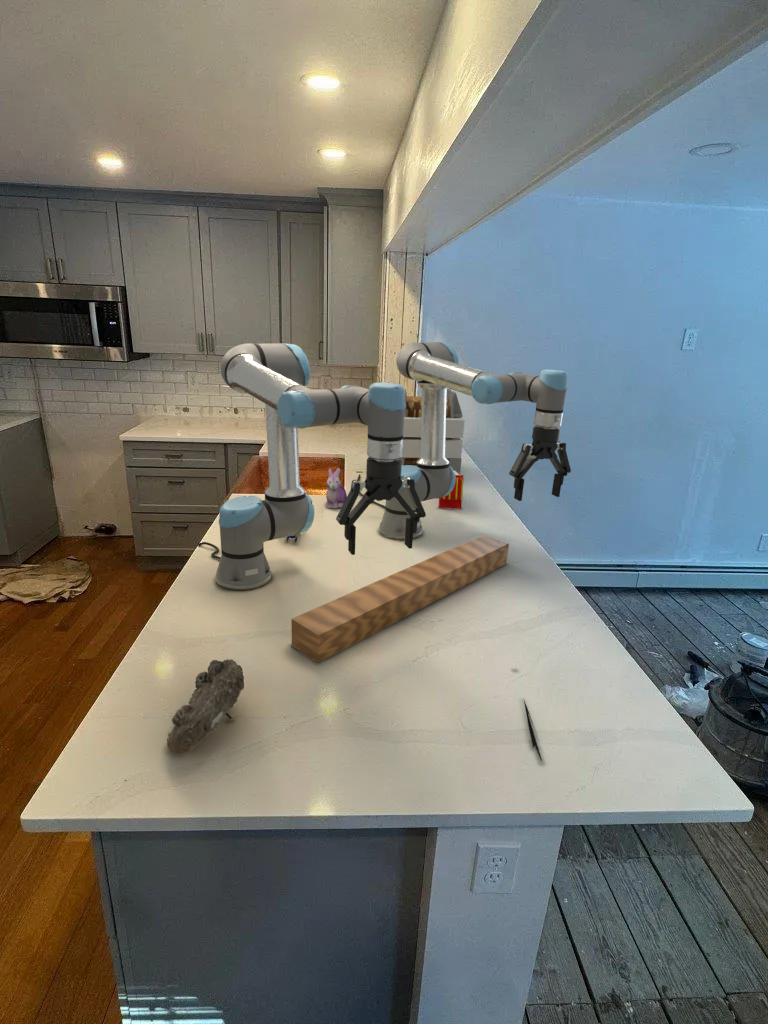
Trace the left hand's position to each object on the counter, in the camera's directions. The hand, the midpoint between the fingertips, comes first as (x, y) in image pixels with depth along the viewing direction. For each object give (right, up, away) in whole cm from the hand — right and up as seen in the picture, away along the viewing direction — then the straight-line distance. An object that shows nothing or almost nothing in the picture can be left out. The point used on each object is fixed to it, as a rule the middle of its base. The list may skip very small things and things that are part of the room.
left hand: (380, 549), depth 128 cm
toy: (+27, +14, +112) cm, 116 cm away
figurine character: (-30, 0, +66) cm, 72 cm away
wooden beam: (+10, -15, +28) cm, 33 cm away
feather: (+29, -32, -14) cm, 45 cm away
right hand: (+46, +13, +40) cm, 62 cm away
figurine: (-18, +11, +98) cm, 100 cm away
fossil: (-32, -31, -20) cm, 48 cm away
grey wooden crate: (+18, +27, +147) cm, 151 cm away
